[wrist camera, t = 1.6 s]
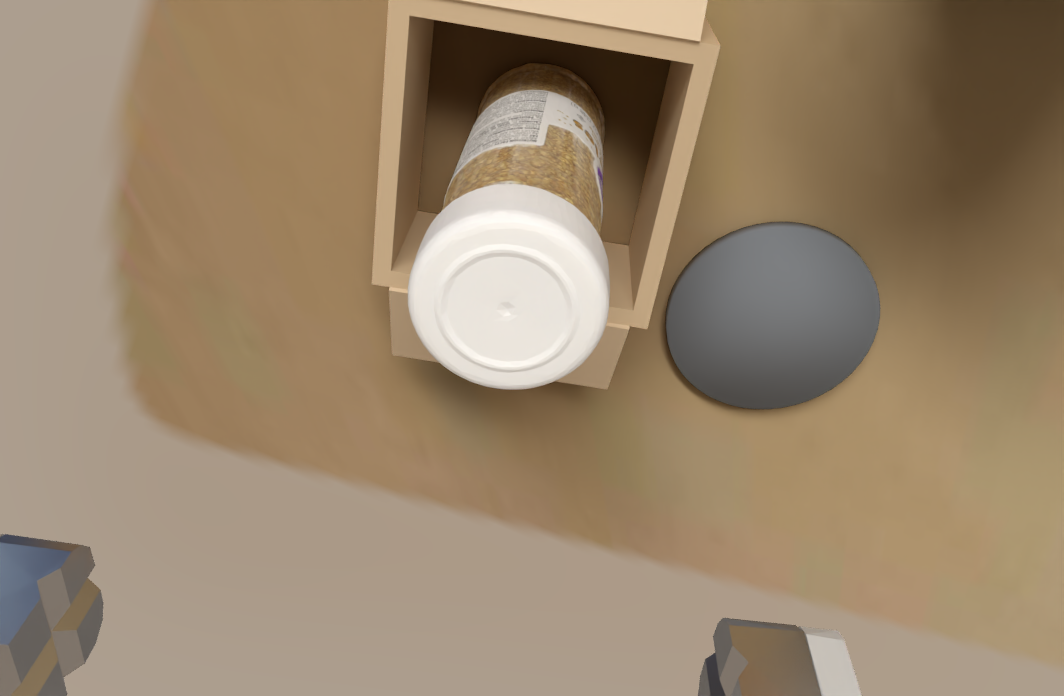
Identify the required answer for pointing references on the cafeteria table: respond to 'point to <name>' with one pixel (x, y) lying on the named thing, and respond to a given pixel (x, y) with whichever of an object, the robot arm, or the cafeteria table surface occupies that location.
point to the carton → (568, 16)
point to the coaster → (772, 315)
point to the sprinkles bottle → (519, 238)
